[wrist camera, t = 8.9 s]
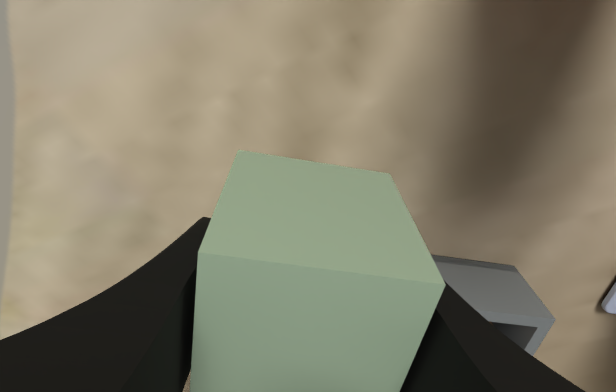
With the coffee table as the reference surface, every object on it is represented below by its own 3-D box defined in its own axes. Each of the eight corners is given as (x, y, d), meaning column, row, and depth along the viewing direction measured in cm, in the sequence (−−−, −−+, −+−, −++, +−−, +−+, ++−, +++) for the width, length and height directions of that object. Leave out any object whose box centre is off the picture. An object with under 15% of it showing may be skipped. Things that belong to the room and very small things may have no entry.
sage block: (389, 173, 12) (446, 284, 7) (354, 289, 14) (382, 432, 9) (238, 149, 11) (197, 252, 7) (225, 273, 13) (188, 414, 9)
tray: (514, 265, 22) (555, 319, 18) (453, 384, 26) (476, 445, 23) (272, 233, 20) (265, 283, 17) (252, 363, 25) (244, 424, 21)
